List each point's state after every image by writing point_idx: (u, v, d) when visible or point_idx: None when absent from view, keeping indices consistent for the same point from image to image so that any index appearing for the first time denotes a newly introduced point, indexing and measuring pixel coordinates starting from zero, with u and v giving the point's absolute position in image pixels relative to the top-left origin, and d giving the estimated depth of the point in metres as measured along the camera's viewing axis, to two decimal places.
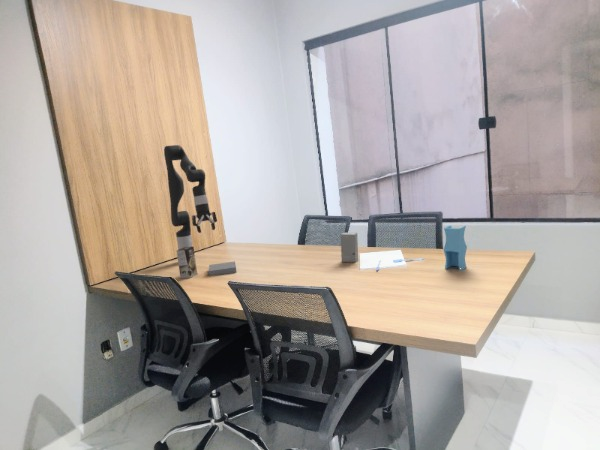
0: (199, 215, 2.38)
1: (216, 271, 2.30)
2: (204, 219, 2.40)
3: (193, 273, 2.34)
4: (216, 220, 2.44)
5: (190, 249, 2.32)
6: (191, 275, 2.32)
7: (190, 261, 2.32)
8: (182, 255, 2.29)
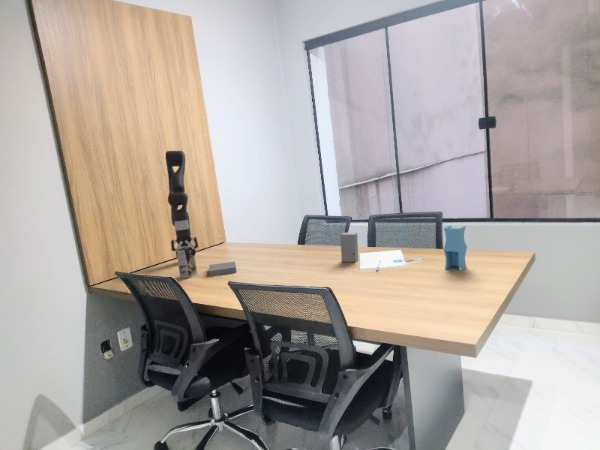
0: (178, 240, 2.30)
1: (216, 271, 2.30)
2: (183, 245, 2.31)
3: (193, 273, 2.34)
4: (196, 246, 2.32)
5: (190, 249, 2.32)
6: (191, 275, 2.32)
7: (190, 261, 2.32)
8: (182, 255, 2.29)
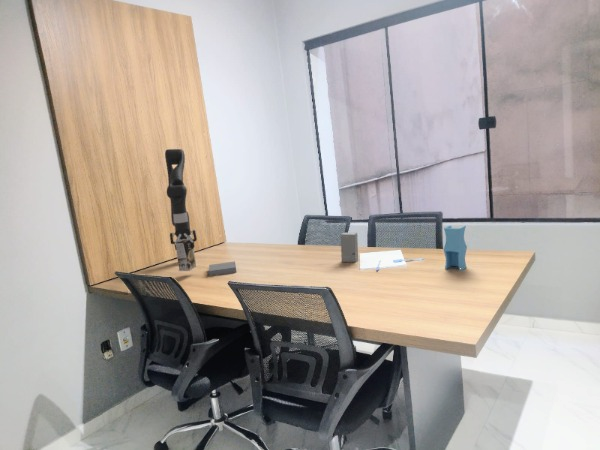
0: (177, 233, 2.30)
1: (216, 271, 2.30)
2: (182, 237, 2.31)
3: (192, 265, 2.34)
4: (195, 239, 2.32)
5: (189, 242, 2.32)
6: (190, 268, 2.31)
7: (189, 254, 2.31)
8: (181, 248, 2.28)
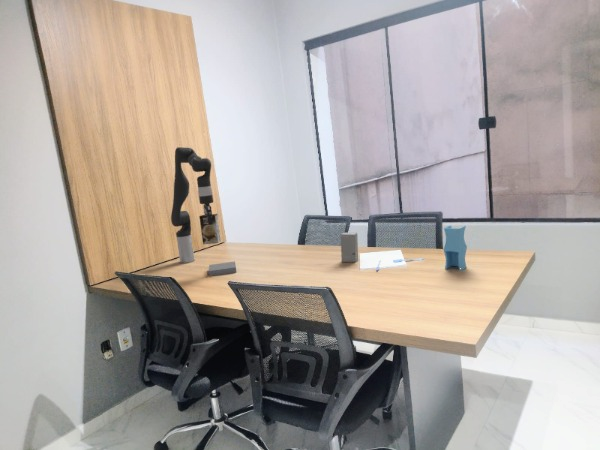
0: (204, 206, 2.34)
1: (216, 271, 2.30)
2: None
3: (210, 241, 2.31)
4: (207, 216, 2.26)
5: None
6: (205, 242, 2.32)
7: (205, 228, 2.30)
8: None
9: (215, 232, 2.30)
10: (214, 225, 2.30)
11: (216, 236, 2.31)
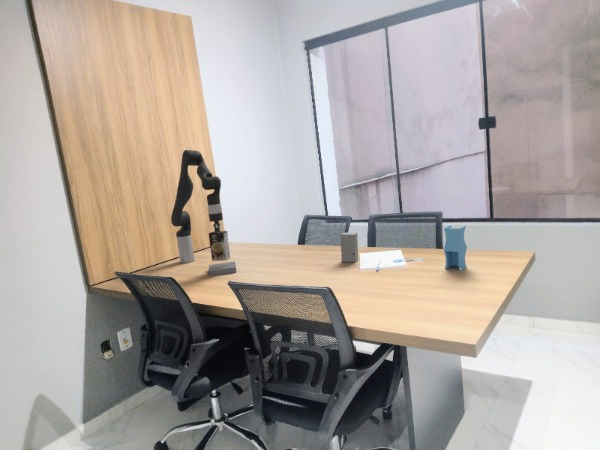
0: None
1: (216, 271, 2.30)
2: None
3: (219, 258, 2.34)
4: (215, 233, 2.28)
5: None
6: (214, 259, 2.35)
7: (214, 246, 2.33)
8: None
9: (223, 249, 2.33)
10: (222, 243, 2.32)
11: (224, 253, 2.33)
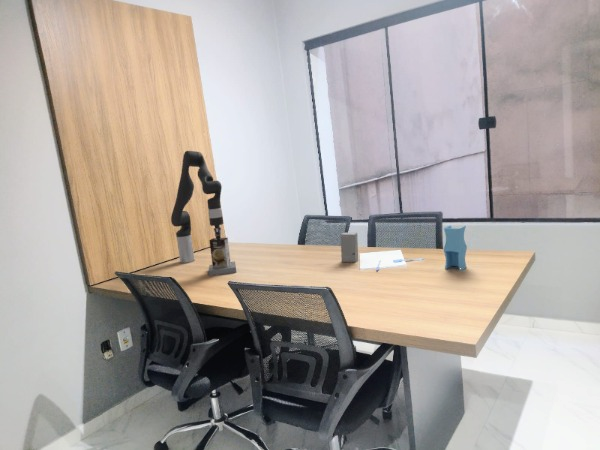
0: None
1: (216, 271, 2.30)
2: None
3: (220, 264, 2.34)
4: None
5: (216, 241, 2.32)
6: (215, 266, 2.35)
7: (215, 252, 2.33)
8: None
9: (224, 256, 2.33)
10: (223, 249, 2.33)
11: (225, 260, 2.33)
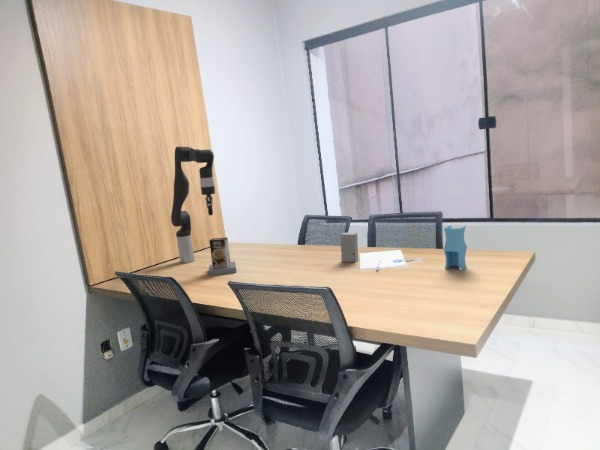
0: None
1: (216, 271, 2.30)
2: None
3: (220, 264, 2.34)
4: None
5: (216, 241, 2.32)
6: (215, 266, 2.35)
7: (215, 252, 2.33)
8: None
9: (224, 256, 2.33)
10: (223, 249, 2.33)
11: (225, 260, 2.33)
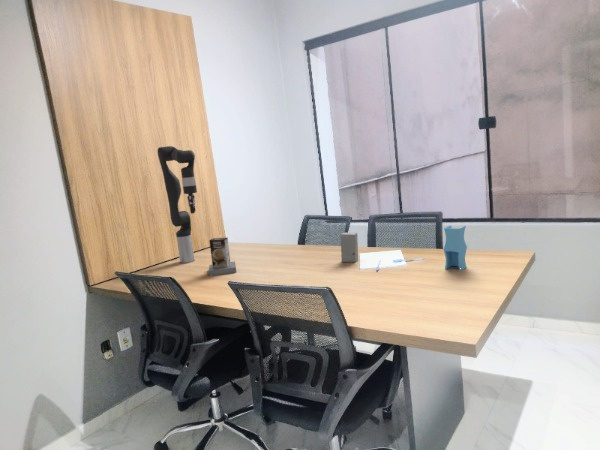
0: None
1: (216, 271, 2.30)
2: None
3: (220, 264, 2.34)
4: None
5: (216, 241, 2.32)
6: (215, 266, 2.35)
7: (215, 252, 2.33)
8: None
9: (224, 256, 2.33)
10: (223, 249, 2.33)
11: (225, 260, 2.33)
